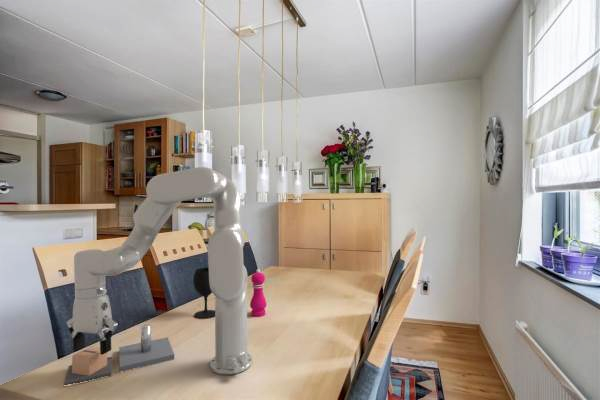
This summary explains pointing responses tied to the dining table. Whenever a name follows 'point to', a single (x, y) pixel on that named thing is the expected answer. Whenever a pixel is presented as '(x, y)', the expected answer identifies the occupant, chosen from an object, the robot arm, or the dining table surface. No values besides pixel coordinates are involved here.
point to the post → (145, 338)
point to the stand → (145, 354)
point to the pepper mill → (258, 295)
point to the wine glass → (203, 291)
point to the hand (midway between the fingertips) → (92, 350)
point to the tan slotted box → (88, 361)
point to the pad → (79, 378)
